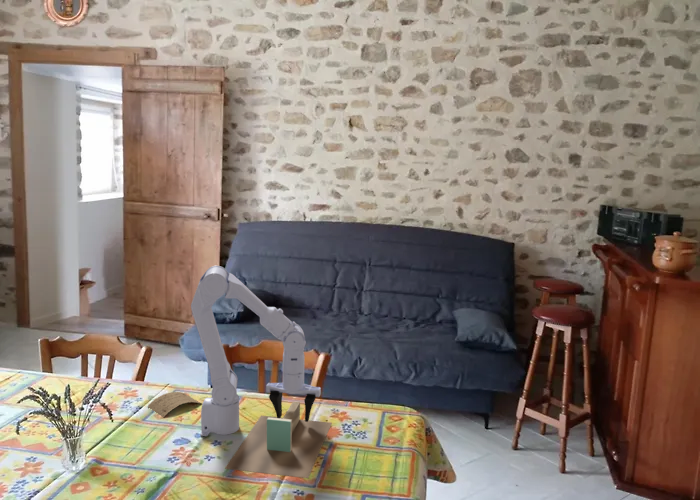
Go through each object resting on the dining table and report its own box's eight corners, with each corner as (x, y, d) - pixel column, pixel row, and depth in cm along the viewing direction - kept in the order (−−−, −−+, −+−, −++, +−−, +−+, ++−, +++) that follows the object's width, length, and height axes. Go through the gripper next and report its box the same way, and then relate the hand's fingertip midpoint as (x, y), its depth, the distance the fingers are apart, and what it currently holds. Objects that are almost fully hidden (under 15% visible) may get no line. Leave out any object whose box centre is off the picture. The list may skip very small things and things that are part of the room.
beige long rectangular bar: (281, 437, 157) (281, 419, 156) (292, 418, 168) (292, 401, 167) (289, 438, 157) (289, 420, 156) (299, 419, 168) (299, 402, 167)
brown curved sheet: (162, 420, 168) (161, 411, 168) (142, 409, 175) (142, 400, 174) (206, 404, 179) (205, 396, 178) (186, 394, 186) (186, 386, 185)
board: (224, 472, 142) (224, 468, 142) (261, 418, 170) (261, 415, 169) (308, 482, 139) (308, 478, 139) (331, 426, 166) (331, 422, 166)
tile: (266, 449, 151) (266, 419, 150) (268, 447, 152) (268, 417, 151) (290, 452, 150) (290, 421, 149) (291, 449, 151) (291, 419, 150)
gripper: (323, 367, 164) (322, 414, 167) (271, 363, 167) (271, 409, 169) (317, 377, 158) (317, 426, 160) (263, 372, 160) (263, 421, 162)
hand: (293, 418), depth 164 cm, fingers open, 7 cm apart
